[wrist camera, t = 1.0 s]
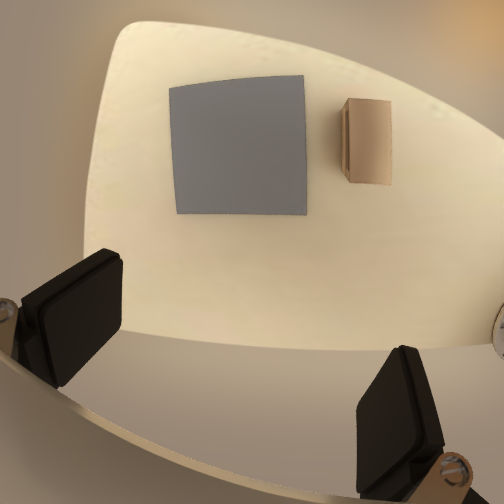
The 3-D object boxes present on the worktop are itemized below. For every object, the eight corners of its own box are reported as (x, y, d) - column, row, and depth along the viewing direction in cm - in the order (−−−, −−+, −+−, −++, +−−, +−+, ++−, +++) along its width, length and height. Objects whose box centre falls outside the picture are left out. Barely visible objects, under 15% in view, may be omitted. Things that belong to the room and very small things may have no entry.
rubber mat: (303, 76, 26) (303, 75, 26) (306, 214, 31) (306, 215, 31) (170, 88, 29) (169, 88, 29) (178, 213, 34) (177, 214, 34)
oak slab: (371, 112, 26) (390, 101, 18) (371, 172, 28) (390, 185, 20) (340, 110, 27) (347, 98, 19) (341, 170, 29) (348, 182, 21)
